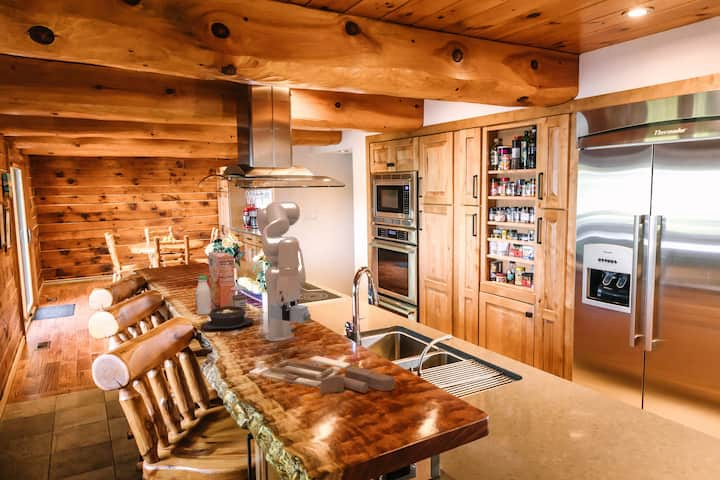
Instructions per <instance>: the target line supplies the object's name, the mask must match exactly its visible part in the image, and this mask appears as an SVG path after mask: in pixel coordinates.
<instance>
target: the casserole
mask: <svg viewBox="0 0 720 480" xmlns="http://www.w3.org/2000/svg"><path fill="white" fill-rule="evenodd" d="M245 314H246V312H245V311H244V309H243V308H242V307H237V306H225V307H218V308H213V309H212V308H211V312H210V314H208V317H209V318H210V321H206V322H202V323H200V327H201V328H202V329H205V330H221V331H222V330H226V331H227V330H234V329H237V328H240V327H242V326H245V325H250V324H252V323H254V322H255V320H254V319H253V318H252V317H249V316H244V315H245Z"/></svg>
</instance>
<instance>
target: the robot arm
mask: <svg viewBox="0 0 720 480" xmlns="http://www.w3.org/2000/svg"><path fill="white" fill-rule="evenodd" d="M300 217H301V211H300V207H299V205H298V203H296V202H295V201H275V202H270V203H269V204H268V205H266V207H264V208H261V209H259V210H257V212H256V225H257V228H258V231H259V233H260V235H261V236H260V241H261V247H262V252H263V254H264V256H265V260H266V262H267V264H268V265H269V266H270V267H267V269H266V270H265V272H264V280H265V285H266V297H267V327H268V328H267V329H268V331H267V332H268V333H266V334H265V335H264V339H265V340H267V341H269V342H285V341H290V340H292V339H293V338H294V337H295V333H294V332H292V331H293V330H294V329H296V327H297V326H296V325H295V324H291V321H290V310H289V308H291V307H292V306H295V305H299V302H300V300H301V298H302V297H301V287H302V286H304V285H305V283H306V280H307V279H306V278H307V276H306V275H307V274H306V270H305V269H306V268H305V264H304V258H303V252H302V251H303V250H302V249H301V247H300V242H299V240H298V238H296V237H294V236H283V235H286V233H288V231H289V230H290V227H291V226H294V225H295V224H297V222H298V221H299V220H300ZM275 303H277V305H278V306H280V308H281V310H282V320H276V319H270V308H271V305H272V304H275ZM284 304H286V306H285V305H284Z"/></svg>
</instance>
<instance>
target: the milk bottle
mask: <svg viewBox="0 0 720 480" xmlns="http://www.w3.org/2000/svg"><path fill="white" fill-rule="evenodd" d="M197 281H198V284H197V286H196V289H195V314H196V315H197V316H206V315H208V316H209V314H210V312H211V310H212V306H211V292H210V285H209V284H208V276H207V275H199V276H197Z"/></svg>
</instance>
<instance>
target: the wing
mask: <svg viewBox="0 0 720 480" xmlns="http://www.w3.org/2000/svg"><path fill="white" fill-rule="evenodd" d="M309 362H313V363H318V364H323V365H327V366H331V367H335V368H338V369H344V370H345V369H347V368H349V367H351V363H350V362H344V361H341V360H337V359H332V358H327V357H325V356H323V357H322V356H319V355H315V356H313V357H310V358H309Z"/></svg>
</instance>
